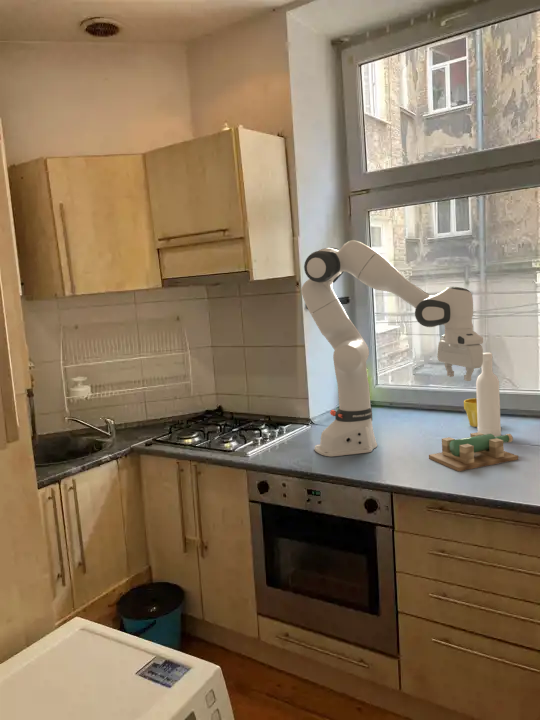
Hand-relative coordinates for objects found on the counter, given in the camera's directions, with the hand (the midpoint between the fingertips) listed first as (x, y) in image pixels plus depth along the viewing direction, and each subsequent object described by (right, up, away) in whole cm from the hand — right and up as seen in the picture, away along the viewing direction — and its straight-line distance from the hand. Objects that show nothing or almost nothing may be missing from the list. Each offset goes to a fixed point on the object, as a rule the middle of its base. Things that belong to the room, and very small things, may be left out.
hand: (458, 378), depth 203 cm
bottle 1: (+17, -21, +20) cm, 34 cm away
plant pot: (+18, -19, +35) cm, 44 cm away
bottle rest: (+3, -26, -5) cm, 26 cm away
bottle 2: (+6, -23, -4) cm, 24 cm away
